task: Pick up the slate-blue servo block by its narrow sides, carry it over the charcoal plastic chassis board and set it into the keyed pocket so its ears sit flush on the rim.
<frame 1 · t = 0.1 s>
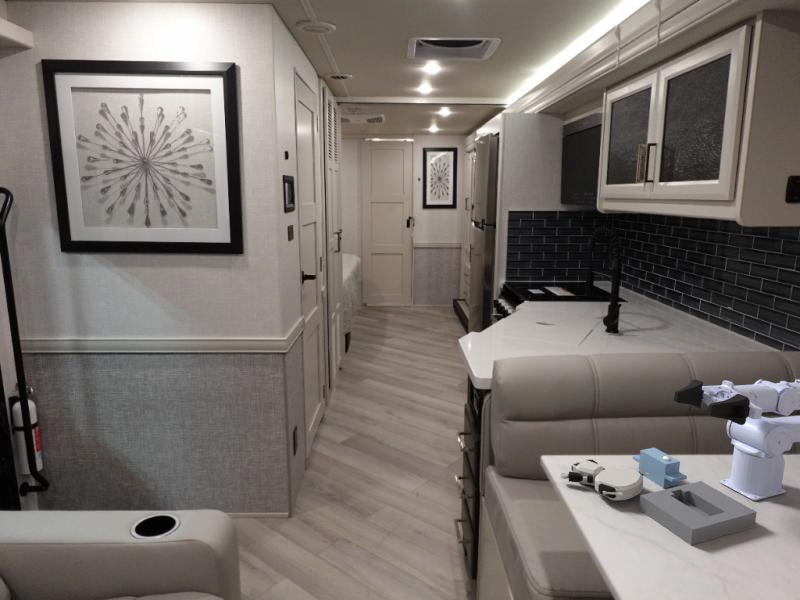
hand: (692, 403, 103), 22 cm above the table, tool horizontal, fingers open, 7 cm apart
robot toy: (603, 489, 114), on the table, touching electrical cable
electrical cable: (627, 484, 116), on the table, touching robot toy
chassis: (695, 517, 103), on the table
servo: (657, 478, 118), on the table
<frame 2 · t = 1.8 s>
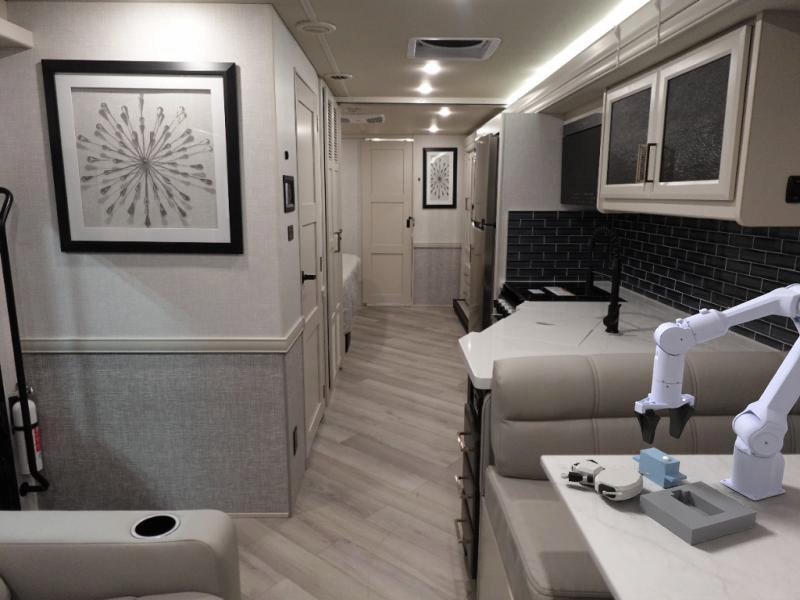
hand: (661, 439, 116), 9 cm above the table, tool pointing down, fingers open, 7 cm apart
nothing on the table moved.
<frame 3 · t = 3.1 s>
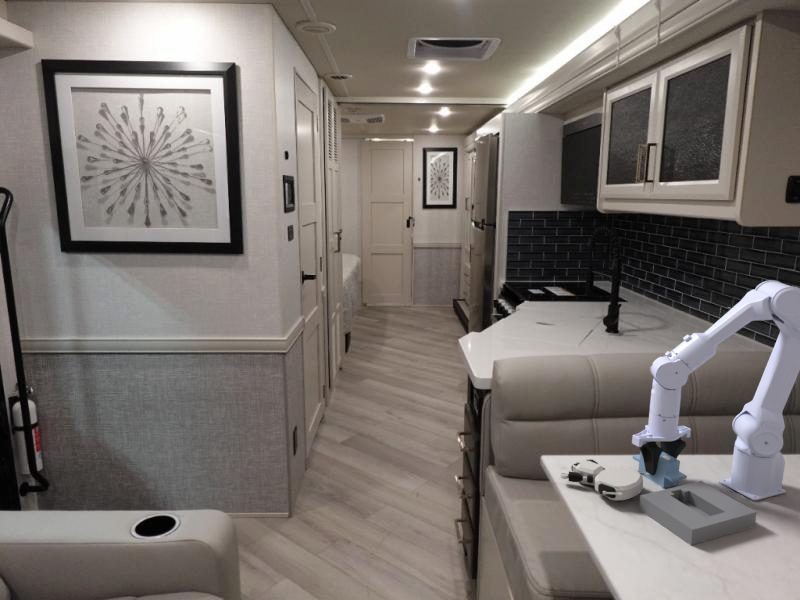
hand: (658, 471, 118), 2 cm above the table, tool pointing down, fingers closed on servo, 4 cm apart
servo: (657, 478, 118), on the table, touching gripper
everything else where it was.
when the fingers open (4 cm above the table, at t = 6.9 s): servo drops 2 cm, resting on chassis.
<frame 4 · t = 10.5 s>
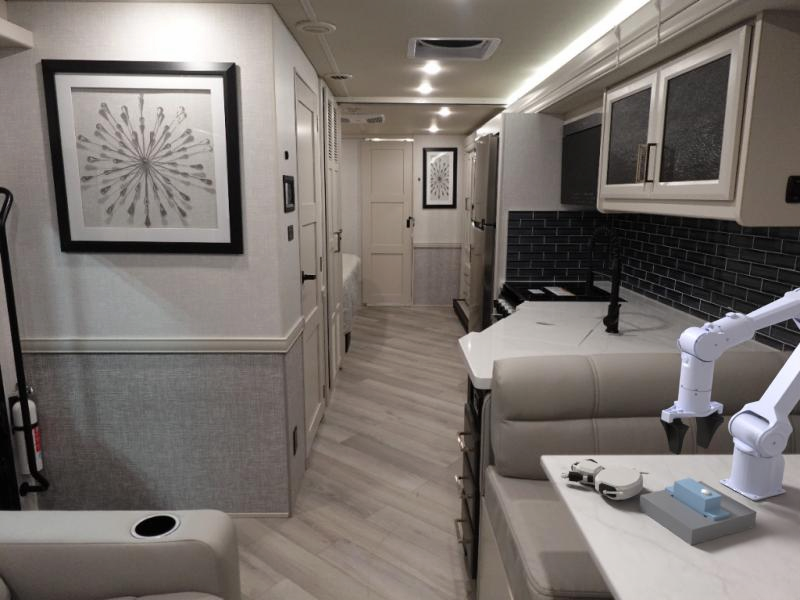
hand: (688, 449, 111), 9 cm above the table, tool pointing down, fingers open, 7 cm apart
robot toy: (603, 489, 114), on the table
electrical cable: (620, 481, 118), on the table
servo: (694, 514, 103), resting on chassis
at the end: servo 0.3 cm off-centre on the chassis, point 0.5 cm above the chassis's base; servo tilted 0°; the gripper is holding nothing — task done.
